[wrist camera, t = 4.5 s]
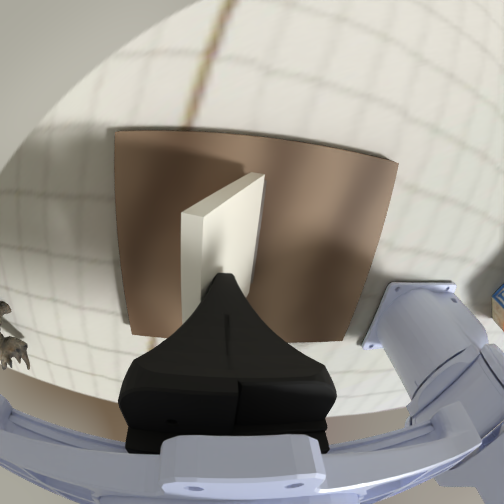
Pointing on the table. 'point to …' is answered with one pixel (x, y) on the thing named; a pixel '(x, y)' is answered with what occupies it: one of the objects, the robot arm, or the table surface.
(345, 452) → the robot arm
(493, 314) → the stack of blocks
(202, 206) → the tile
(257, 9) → the table surface
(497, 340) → the table surface
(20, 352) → the rhino figurine
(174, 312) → the board
